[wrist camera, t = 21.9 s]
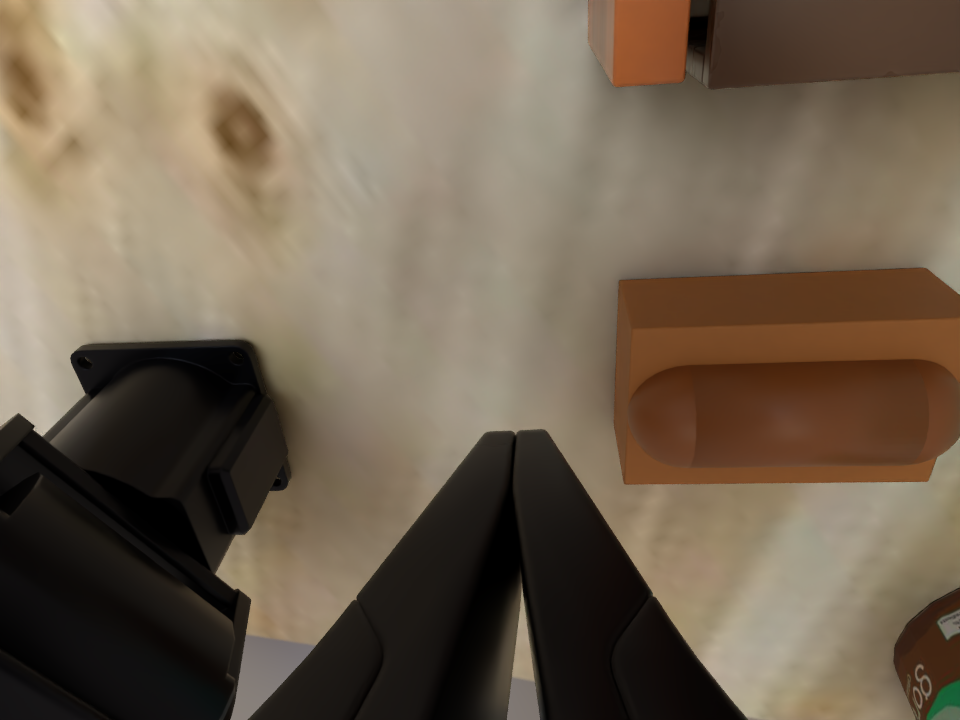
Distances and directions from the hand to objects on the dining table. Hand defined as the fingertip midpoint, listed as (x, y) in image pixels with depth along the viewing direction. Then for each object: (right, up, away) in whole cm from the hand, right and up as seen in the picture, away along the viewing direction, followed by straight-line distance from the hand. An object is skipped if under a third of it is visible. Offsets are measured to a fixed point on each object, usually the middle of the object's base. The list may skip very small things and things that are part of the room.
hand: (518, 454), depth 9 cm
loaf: (+8, +2, +12) cm, 15 cm away
